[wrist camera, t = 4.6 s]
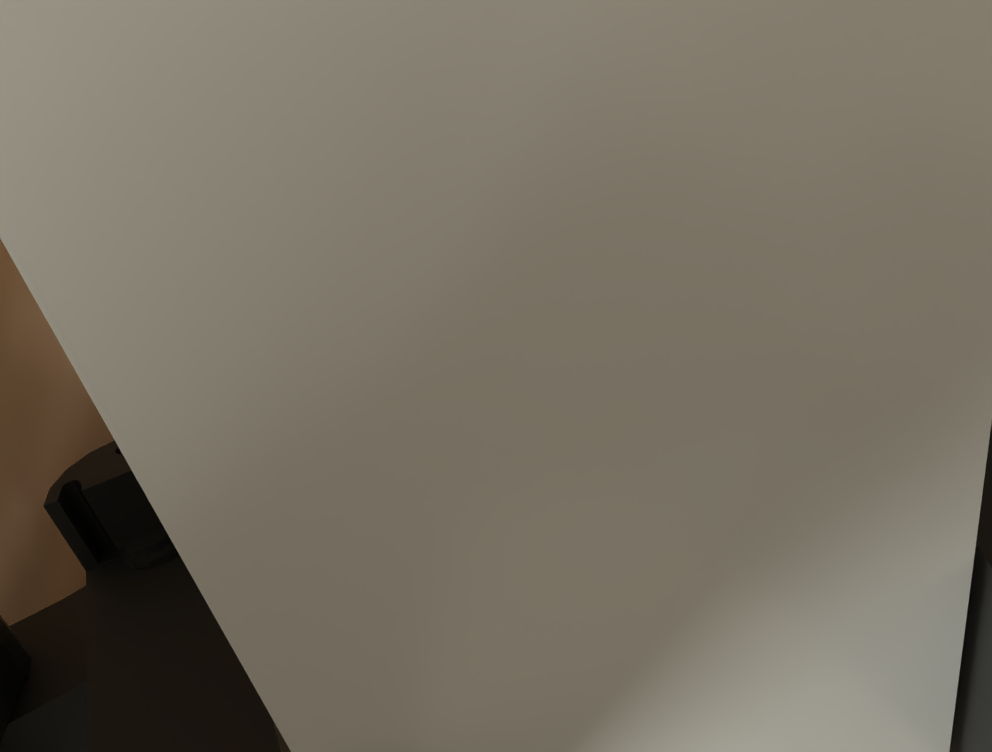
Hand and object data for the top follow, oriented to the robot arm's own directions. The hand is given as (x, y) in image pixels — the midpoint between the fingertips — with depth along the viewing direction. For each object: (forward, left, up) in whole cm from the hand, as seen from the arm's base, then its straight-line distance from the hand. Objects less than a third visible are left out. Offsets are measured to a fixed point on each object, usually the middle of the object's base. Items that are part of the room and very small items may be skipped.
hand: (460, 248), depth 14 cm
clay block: (0, 0, -2) cm, 2 cm away
